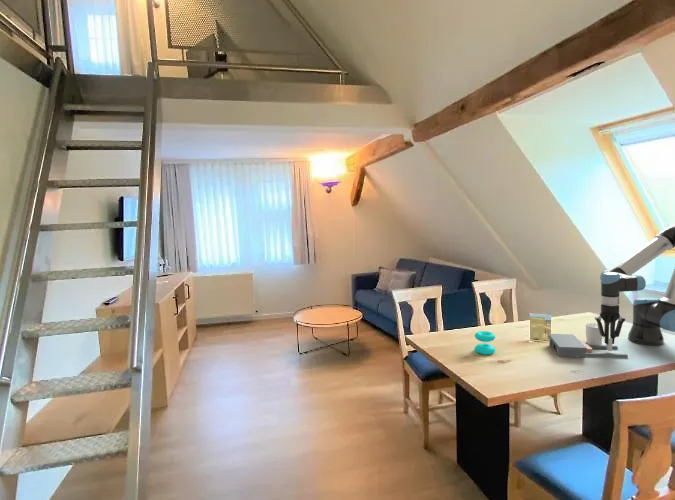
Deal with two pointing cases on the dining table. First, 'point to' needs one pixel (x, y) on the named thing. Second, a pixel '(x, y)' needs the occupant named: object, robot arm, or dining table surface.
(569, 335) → the overhang dock
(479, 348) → the donuts
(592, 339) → the white cup
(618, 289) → the robot arm
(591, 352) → the salmon pink tile
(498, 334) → the dining table surface
